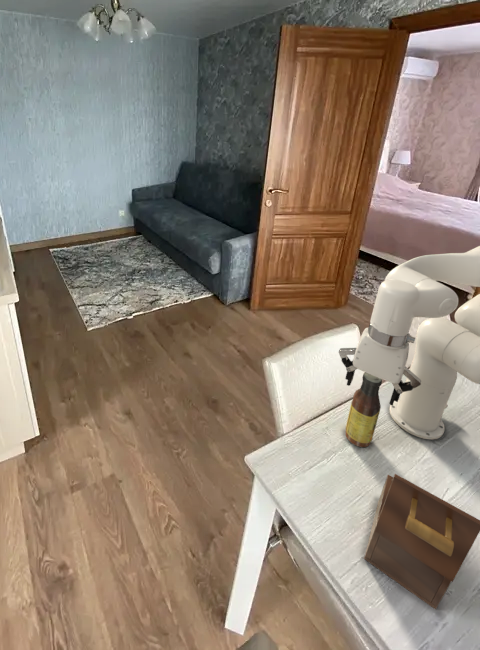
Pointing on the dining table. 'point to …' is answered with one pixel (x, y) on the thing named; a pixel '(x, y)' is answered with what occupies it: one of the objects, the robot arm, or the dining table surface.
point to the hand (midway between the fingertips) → (370, 391)
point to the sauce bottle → (364, 411)
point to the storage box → (404, 563)
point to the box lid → (427, 527)
